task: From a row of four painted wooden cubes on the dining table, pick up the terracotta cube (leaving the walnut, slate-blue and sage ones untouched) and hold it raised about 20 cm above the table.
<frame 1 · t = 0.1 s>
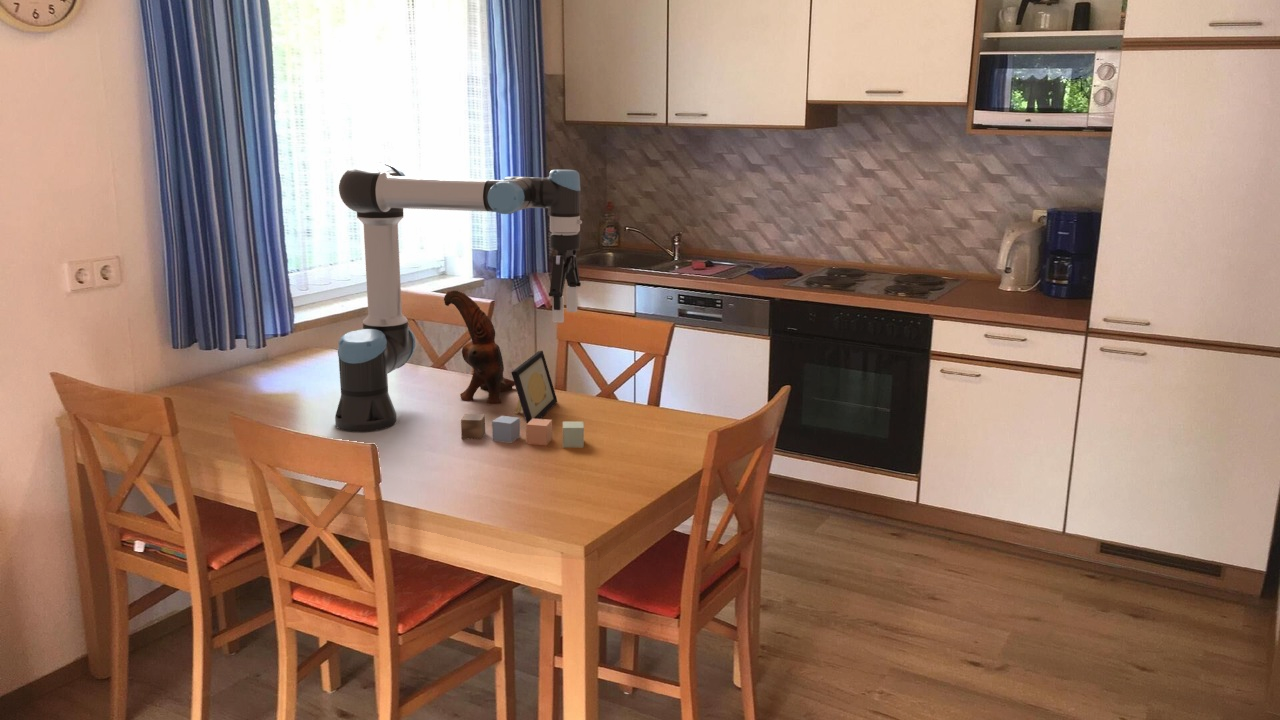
hand: (565, 317, 253), 28 cm above the table, fingers open, 13 cm apart
walnut block: (473, 436, 248), on the table
sage block: (573, 444, 243), on the table
terracotta block: (539, 441, 245), on the table
slate block: (506, 438, 246), on the table
picture frame: (529, 414, 266), on the table
sculpture: (487, 394, 284), on the table
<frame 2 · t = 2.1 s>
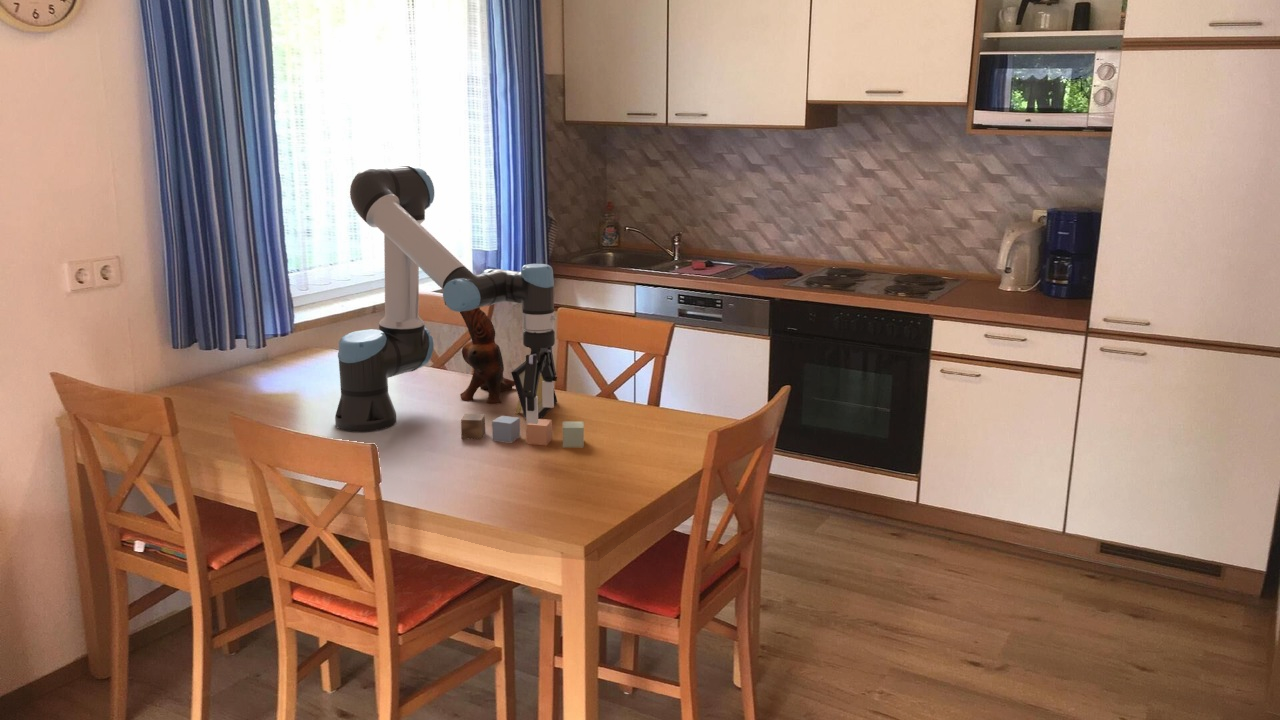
hand: (540, 415, 243), 7 cm above the table, fingers open, 13 cm apart
nothing on the table moved.
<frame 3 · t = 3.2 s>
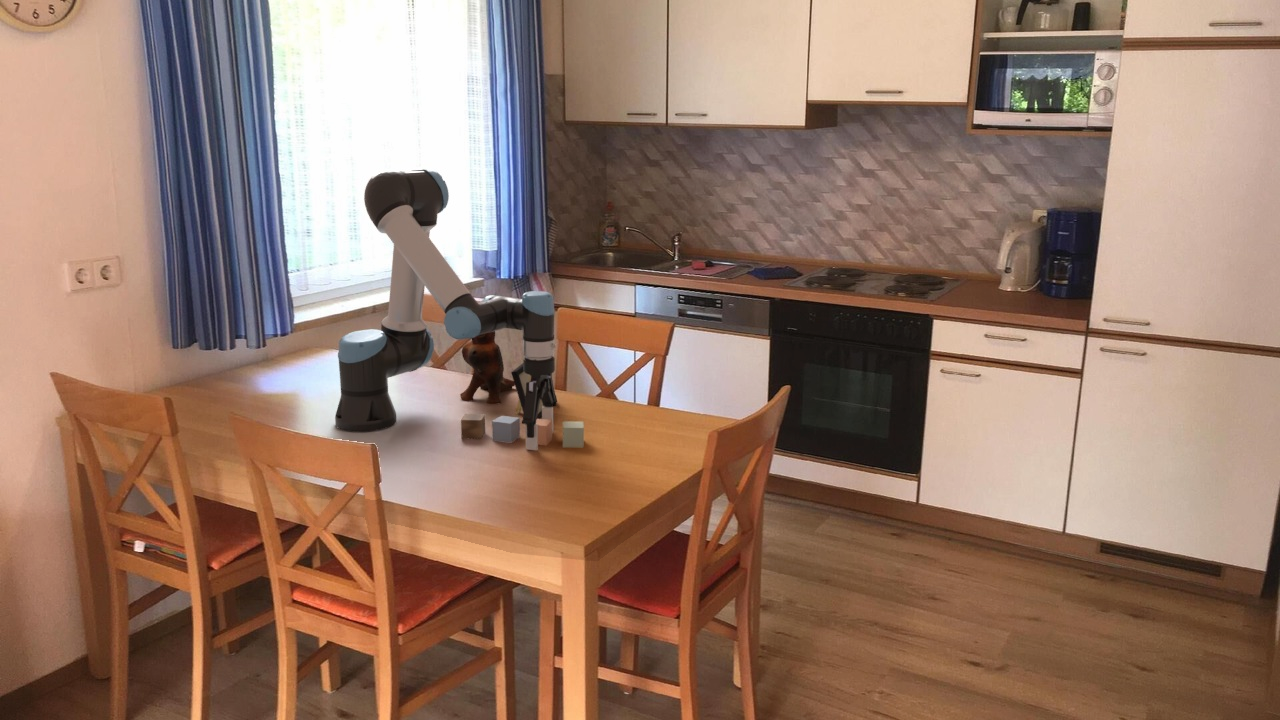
hand: (540, 440, 244), 0 cm above the table, fingers open, 13 cm apart
nothing on the table moved.
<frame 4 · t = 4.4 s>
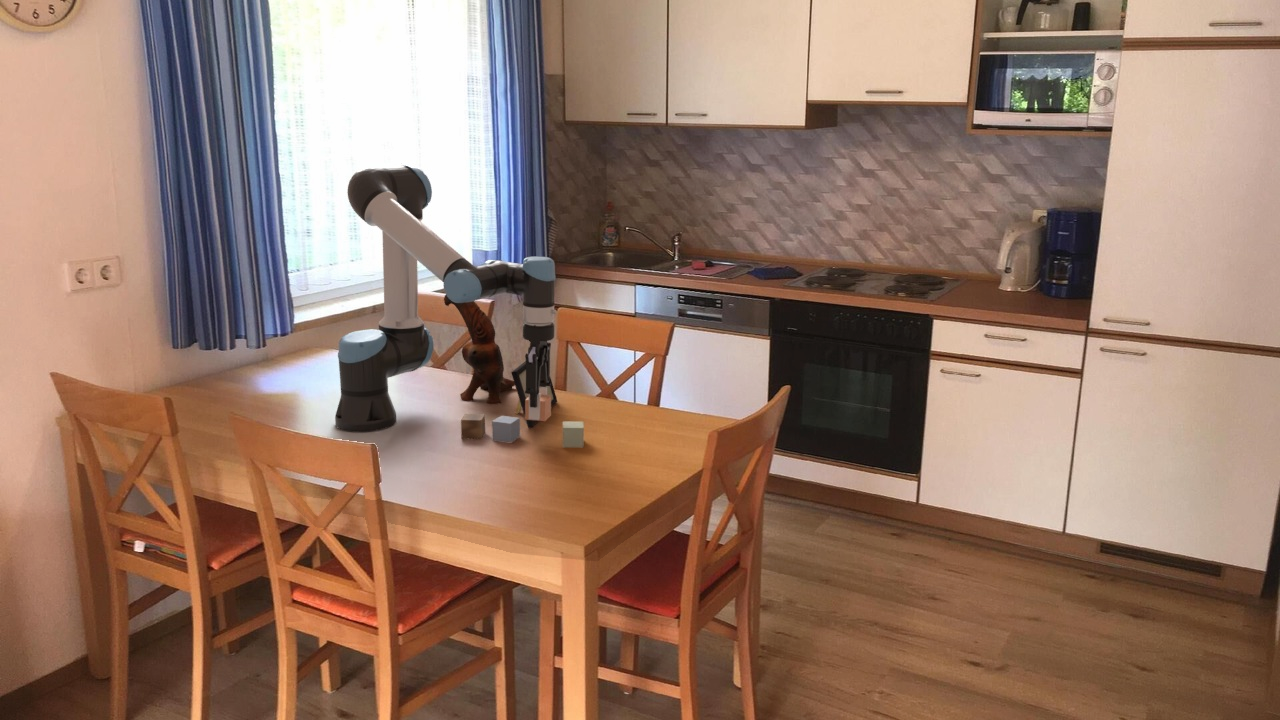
hand: (537, 415, 243), 6 cm above the table, fingers closed on terracotta block, 5 cm apart
terracotta block: (538, 417, 243), point 6 cm above the table, touching gripper
everything else where it was.
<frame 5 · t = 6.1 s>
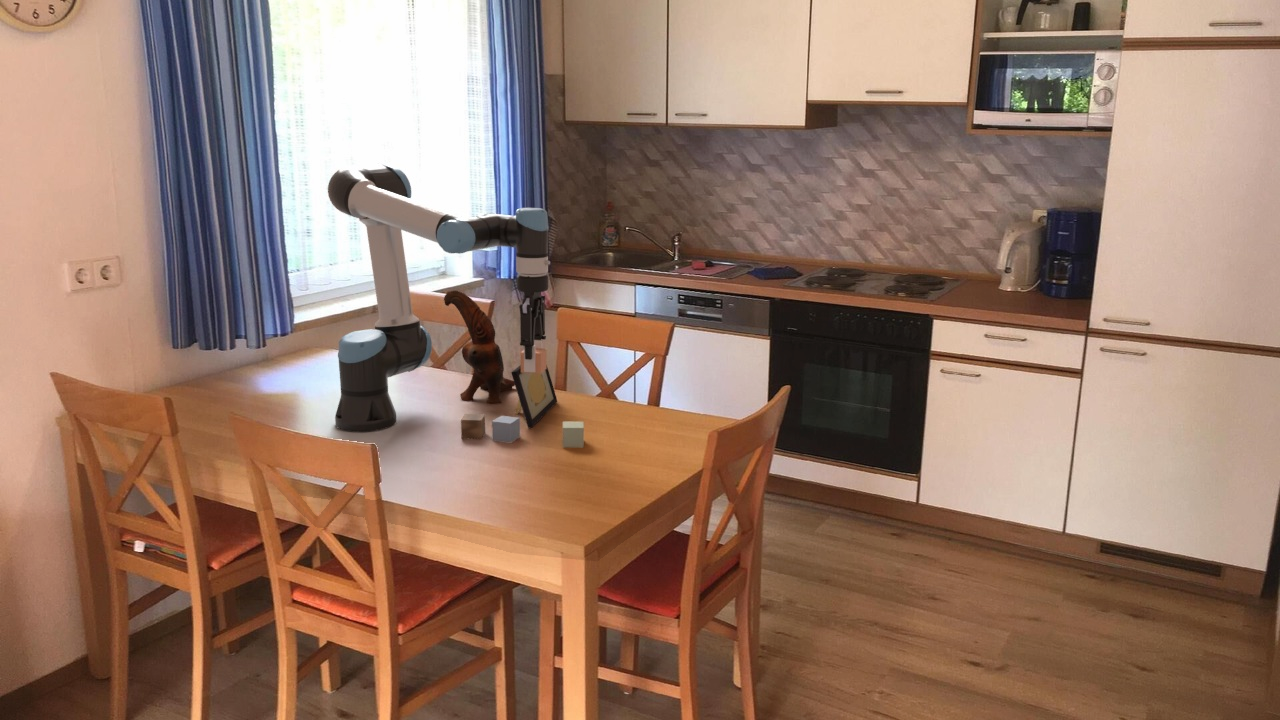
hand: (533, 368, 243), 18 cm above the table, fingers closed on terracotta block, 5 cm apart
terracotta block: (533, 370, 243), point 17 cm above the table, touching gripper
everything else where it was.
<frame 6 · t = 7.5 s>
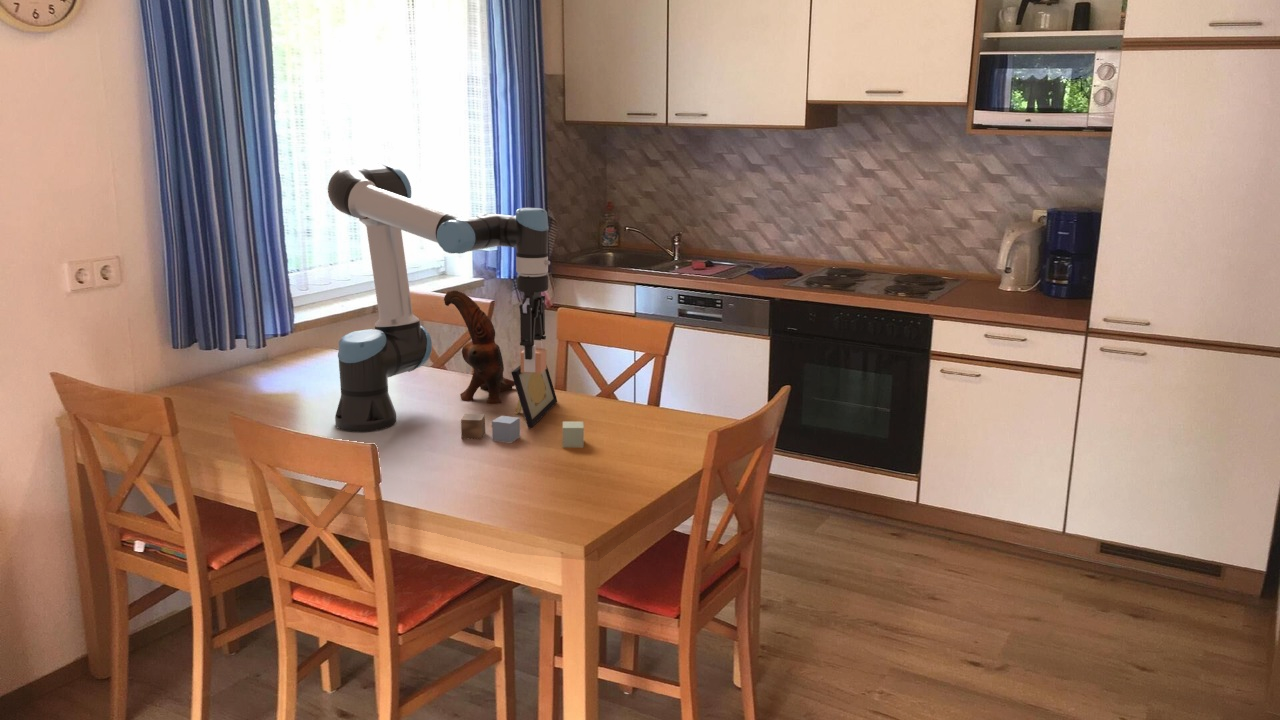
hand: (533, 368, 243), 18 cm above the table, fingers closed on terracotta block, 5 cm apart
terracotta block: (533, 370, 243), point 17 cm above the table, touching gripper
everything else where it was.
at the end: the gripper is holding terracotta block; terracotta block point 17.3 cm above the table; slate block moved 0.1 cm from its start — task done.
